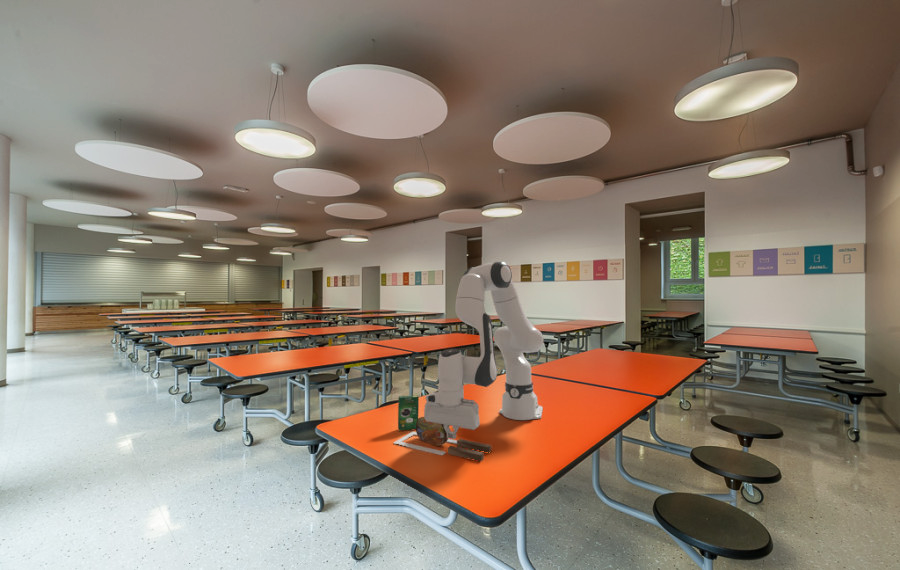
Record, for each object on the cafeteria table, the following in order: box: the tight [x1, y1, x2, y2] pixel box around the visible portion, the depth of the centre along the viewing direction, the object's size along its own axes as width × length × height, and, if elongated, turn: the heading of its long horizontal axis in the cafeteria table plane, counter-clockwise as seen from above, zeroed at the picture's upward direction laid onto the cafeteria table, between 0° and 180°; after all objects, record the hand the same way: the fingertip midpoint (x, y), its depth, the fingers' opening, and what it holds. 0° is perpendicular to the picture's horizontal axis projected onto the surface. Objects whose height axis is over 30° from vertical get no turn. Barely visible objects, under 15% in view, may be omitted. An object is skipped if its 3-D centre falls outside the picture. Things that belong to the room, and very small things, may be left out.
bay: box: [393, 431, 457, 456], centre depth 124 cm, size 12×20×1 cm, turn 61°
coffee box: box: [397, 394, 420, 431], centre depth 138 cm, size 8×3×13 cm, turn 104°
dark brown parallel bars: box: [447, 438, 492, 462], centre depth 115 cm, size 8×12×2 cm
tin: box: [415, 416, 449, 447], centre depth 125 cm, size 15×3×8 cm, turn 47°
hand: (451, 438), depth 119 cm, fingers closed
